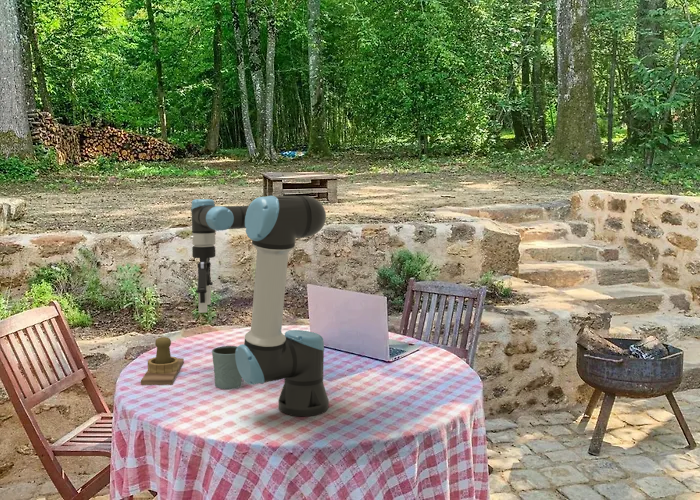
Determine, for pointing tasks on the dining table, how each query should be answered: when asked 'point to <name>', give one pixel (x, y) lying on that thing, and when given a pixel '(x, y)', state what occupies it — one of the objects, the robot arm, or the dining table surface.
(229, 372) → the grey green cup
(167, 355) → the cork
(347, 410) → the dining table surface
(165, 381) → the board
